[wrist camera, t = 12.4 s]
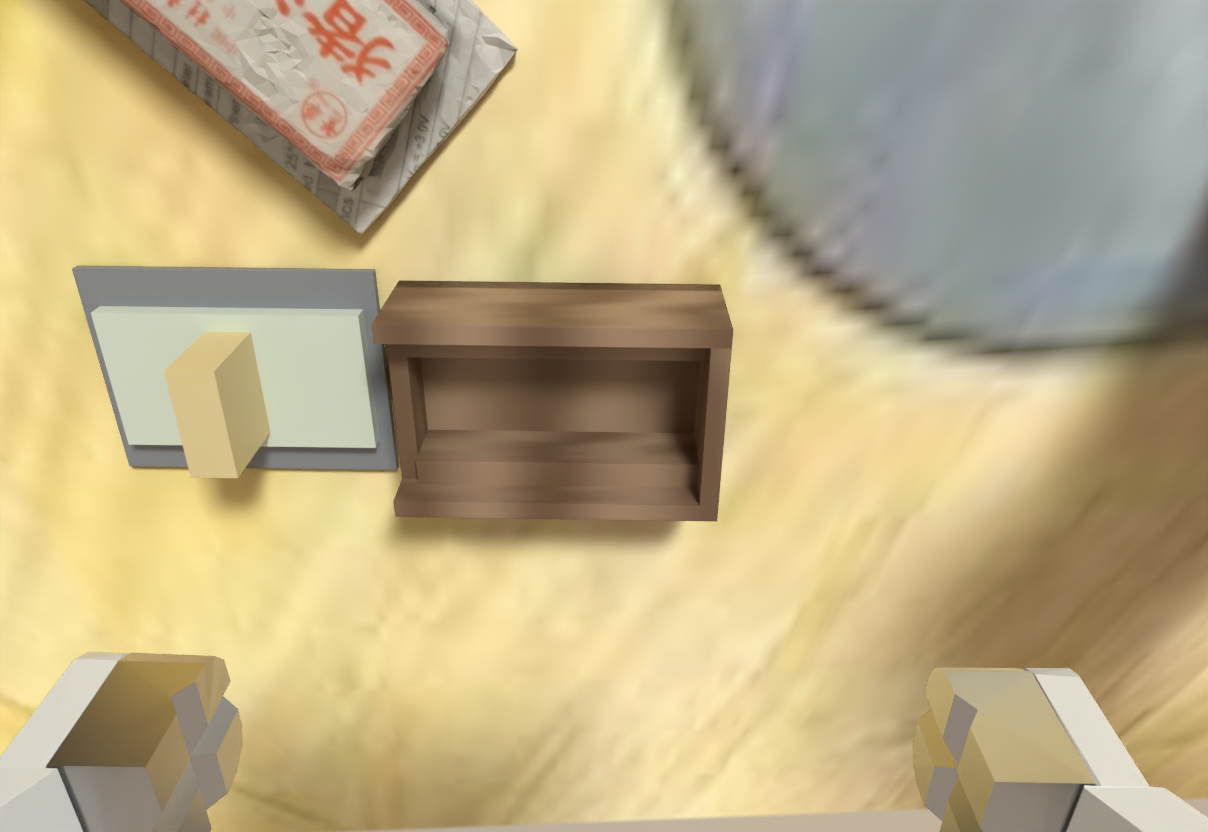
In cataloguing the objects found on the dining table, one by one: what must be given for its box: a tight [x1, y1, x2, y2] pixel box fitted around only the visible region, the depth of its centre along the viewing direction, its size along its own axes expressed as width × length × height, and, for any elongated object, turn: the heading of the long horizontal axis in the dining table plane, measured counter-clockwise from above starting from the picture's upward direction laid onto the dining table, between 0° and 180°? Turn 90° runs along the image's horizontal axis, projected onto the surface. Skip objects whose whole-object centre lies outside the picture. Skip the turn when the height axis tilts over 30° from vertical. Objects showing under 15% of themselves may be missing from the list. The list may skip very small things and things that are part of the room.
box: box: [371, 281, 733, 521], centre depth 38 cm, size 14×9×5 cm, turn 90°
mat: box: [72, 266, 399, 470], centre depth 41 cm, size 13×10×1 cm
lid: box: [91, 306, 380, 478], centre depth 38 cm, size 12×7×5 cm, turn 90°
